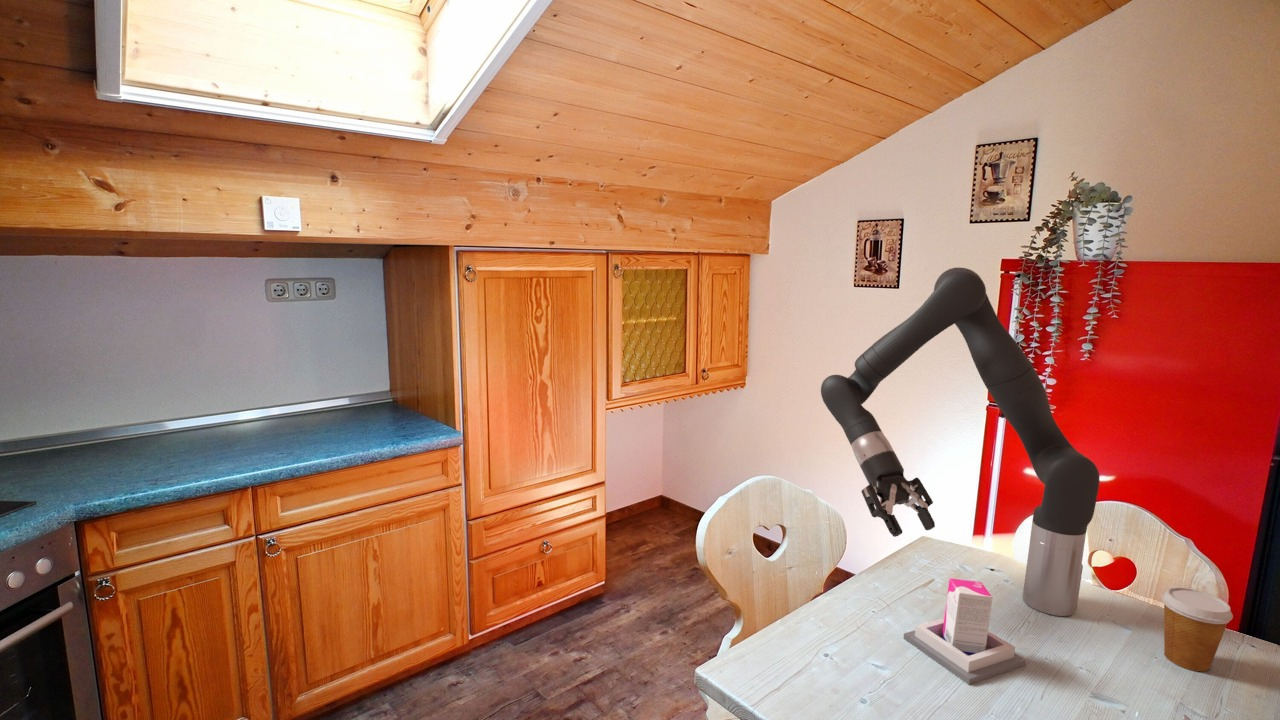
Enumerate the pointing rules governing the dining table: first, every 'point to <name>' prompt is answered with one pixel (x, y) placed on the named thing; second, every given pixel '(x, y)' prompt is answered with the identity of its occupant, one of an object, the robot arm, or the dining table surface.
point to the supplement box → (967, 616)
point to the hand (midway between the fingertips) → (914, 531)
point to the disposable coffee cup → (1193, 627)
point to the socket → (964, 666)
